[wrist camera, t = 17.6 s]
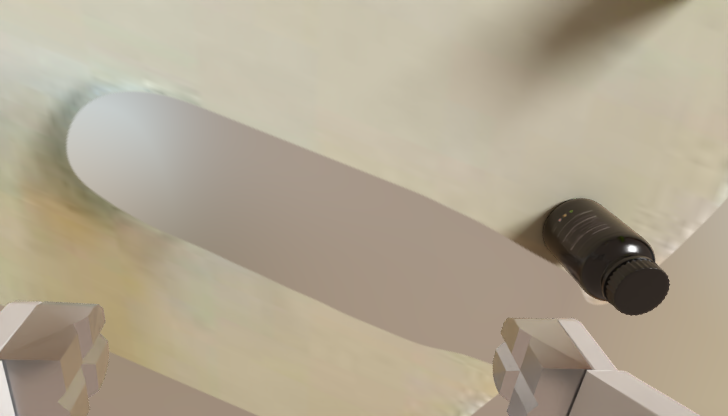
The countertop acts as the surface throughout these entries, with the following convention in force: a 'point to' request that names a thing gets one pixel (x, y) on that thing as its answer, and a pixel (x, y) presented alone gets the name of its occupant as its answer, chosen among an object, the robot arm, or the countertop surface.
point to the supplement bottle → (605, 256)
